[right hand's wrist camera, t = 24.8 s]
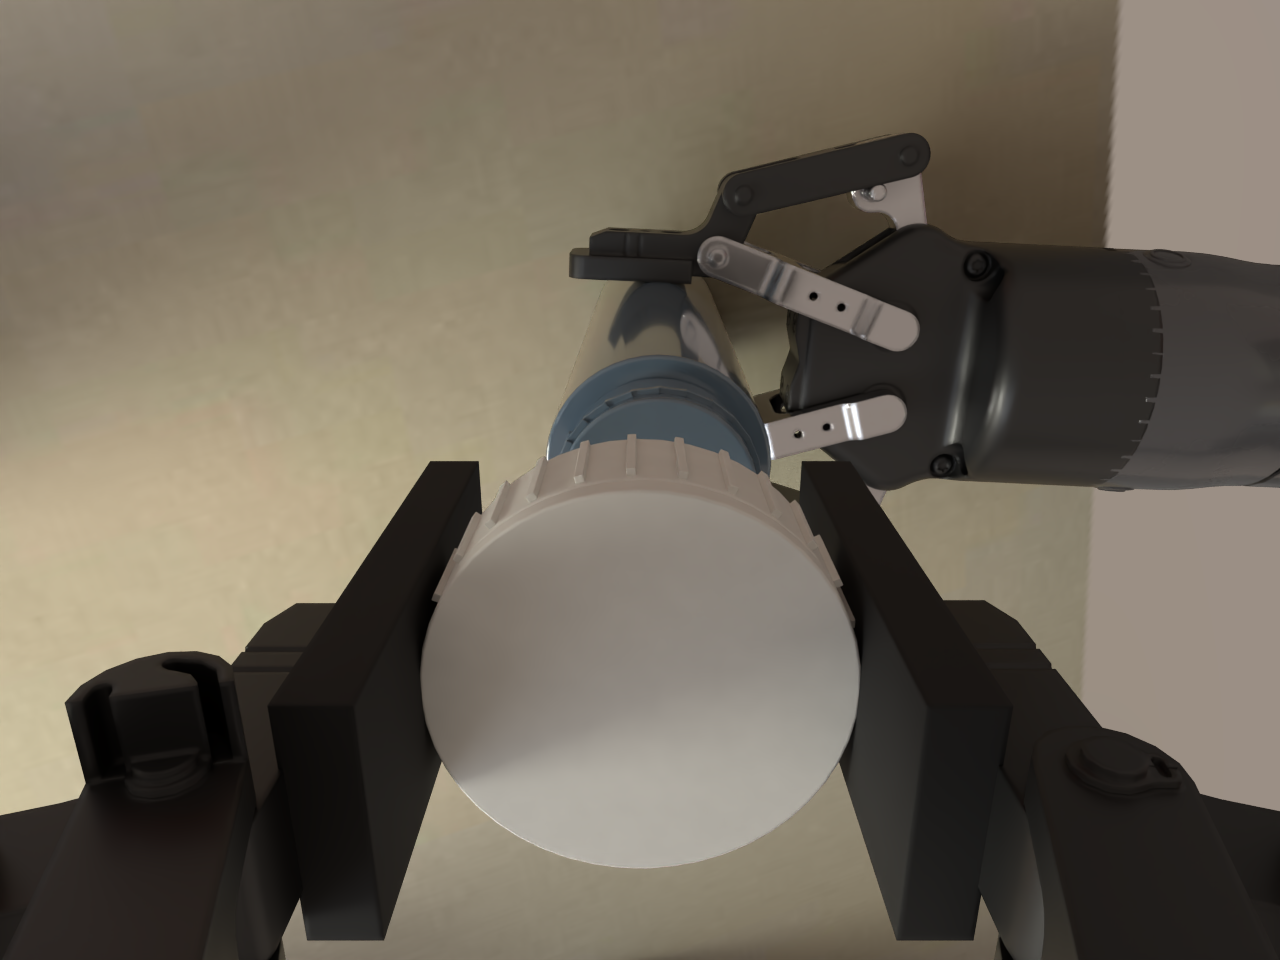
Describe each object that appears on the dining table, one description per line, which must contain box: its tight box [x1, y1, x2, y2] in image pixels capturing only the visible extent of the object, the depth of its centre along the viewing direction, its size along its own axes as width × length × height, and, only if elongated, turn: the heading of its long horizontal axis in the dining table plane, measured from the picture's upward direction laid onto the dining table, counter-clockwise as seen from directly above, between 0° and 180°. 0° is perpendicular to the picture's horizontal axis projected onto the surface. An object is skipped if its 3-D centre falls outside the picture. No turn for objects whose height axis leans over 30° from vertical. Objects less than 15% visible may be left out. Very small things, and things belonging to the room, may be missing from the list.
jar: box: [546, 276, 771, 479], centre depth 26 cm, size 4×4×20 cm
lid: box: [420, 434, 861, 868], centre depth 11 cm, size 5×5×2 cm
